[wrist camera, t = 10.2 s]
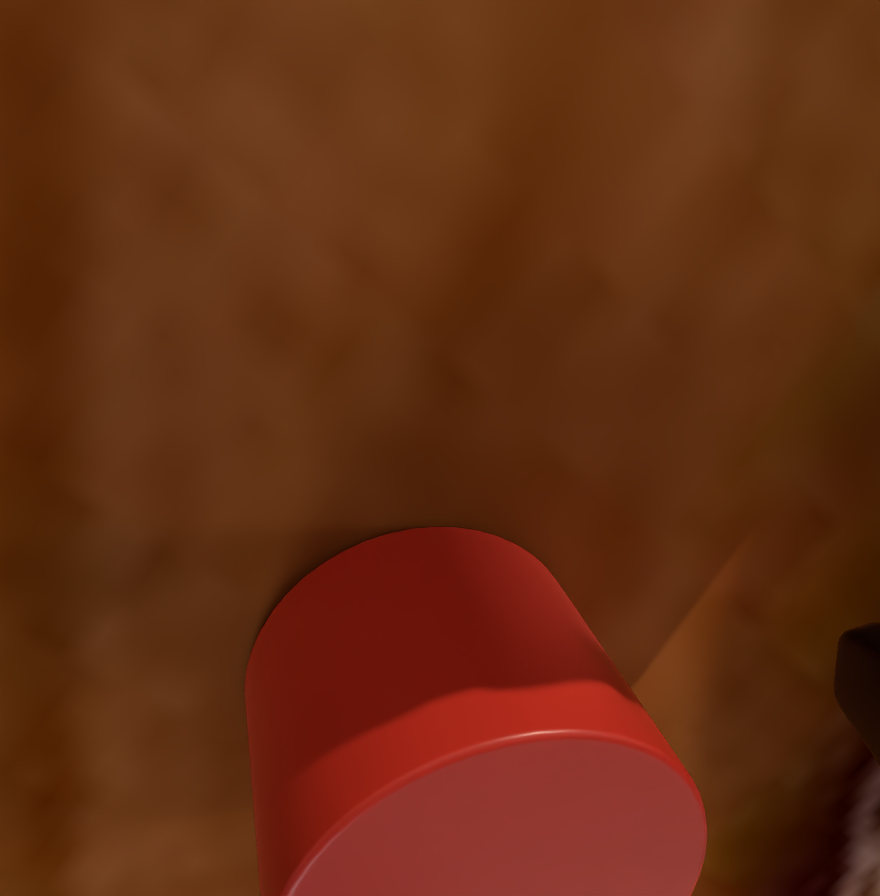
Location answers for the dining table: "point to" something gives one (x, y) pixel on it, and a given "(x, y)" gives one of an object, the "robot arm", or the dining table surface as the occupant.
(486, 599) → the red cylinder
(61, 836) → the dining table surface
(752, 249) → the dining table surface
